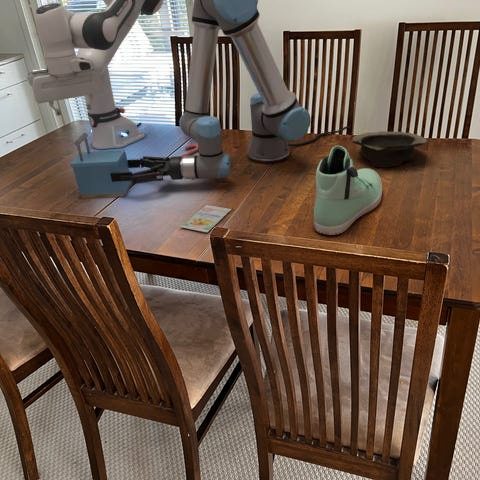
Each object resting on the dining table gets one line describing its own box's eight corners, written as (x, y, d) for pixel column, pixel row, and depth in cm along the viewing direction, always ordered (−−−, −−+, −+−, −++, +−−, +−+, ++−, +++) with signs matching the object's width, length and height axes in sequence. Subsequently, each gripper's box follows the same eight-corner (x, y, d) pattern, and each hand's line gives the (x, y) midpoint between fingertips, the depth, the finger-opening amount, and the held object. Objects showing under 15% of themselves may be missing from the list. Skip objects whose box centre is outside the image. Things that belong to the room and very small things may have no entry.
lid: (70, 167, 152) (64, 142, 148) (81, 155, 161) (75, 131, 156) (117, 165, 151) (112, 140, 147) (125, 153, 159) (120, 129, 155)
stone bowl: (385, 177, 154) (386, 150, 149) (337, 159, 174) (336, 134, 170) (441, 159, 162) (444, 132, 158) (389, 143, 183) (390, 119, 178)
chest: (80, 198, 158) (72, 167, 152) (90, 185, 166) (83, 155, 161) (124, 196, 157) (117, 165, 151) (132, 183, 165) (125, 153, 159)
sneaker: (389, 187, 148) (396, 123, 138) (356, 242, 123) (361, 168, 112) (346, 181, 154) (350, 119, 144) (306, 232, 129) (307, 161, 118)
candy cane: (166, 159, 182) (166, 155, 181) (191, 146, 192) (191, 142, 191) (178, 161, 179) (177, 158, 178) (203, 148, 189) (203, 144, 188)
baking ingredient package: (180, 226, 135) (206, 203, 147) (180, 227, 136) (206, 205, 147) (207, 231, 132) (231, 208, 143) (207, 232, 132) (231, 209, 143)
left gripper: (25, 73, 135) (39, 121, 142) (98, 62, 141) (108, 108, 149) (25, 69, 140) (38, 115, 147) (95, 59, 146) (105, 104, 154)
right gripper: (178, 193, 148) (108, 196, 150) (189, 165, 167) (127, 167, 169) (175, 171, 144) (103, 174, 146) (186, 144, 163) (123, 147, 165)
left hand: (74, 112), depth 148 cm, fingers open, 8 cm apart
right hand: (116, 170), depth 157 cm, fingers closed on chest, 10 cm apart
